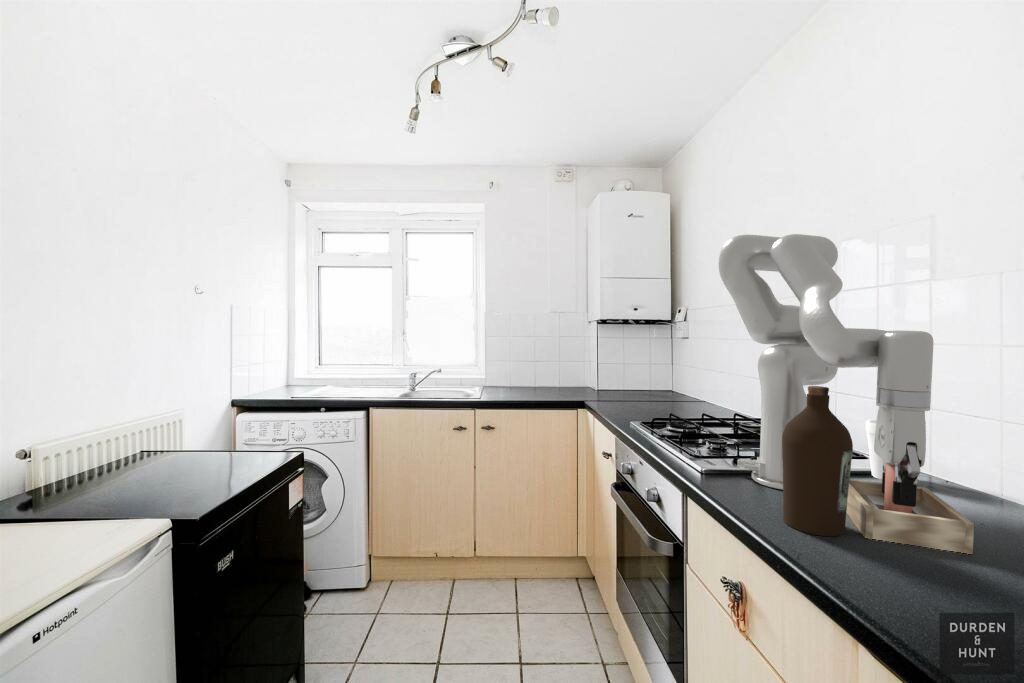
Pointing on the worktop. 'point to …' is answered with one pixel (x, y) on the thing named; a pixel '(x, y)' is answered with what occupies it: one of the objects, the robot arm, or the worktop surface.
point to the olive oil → (816, 468)
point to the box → (909, 519)
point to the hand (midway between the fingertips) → (898, 498)
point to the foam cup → (875, 460)
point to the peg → (889, 490)
